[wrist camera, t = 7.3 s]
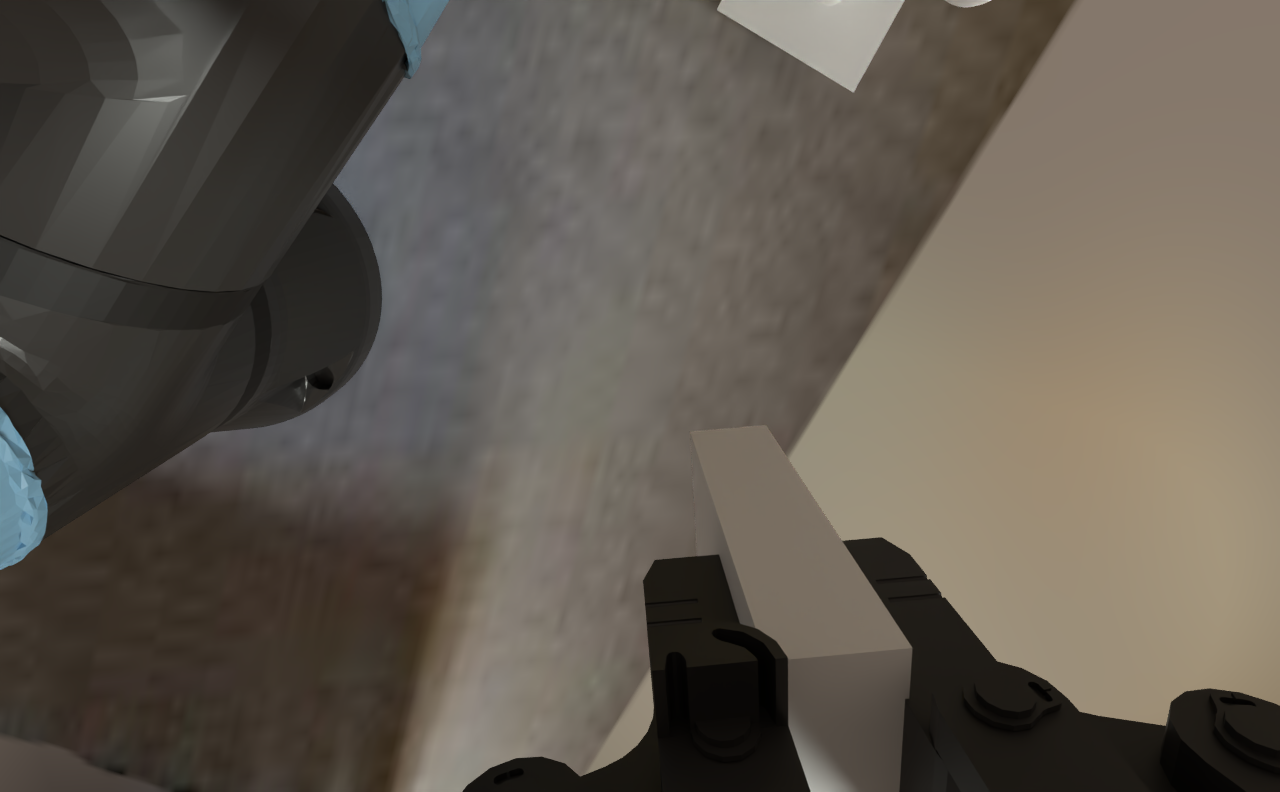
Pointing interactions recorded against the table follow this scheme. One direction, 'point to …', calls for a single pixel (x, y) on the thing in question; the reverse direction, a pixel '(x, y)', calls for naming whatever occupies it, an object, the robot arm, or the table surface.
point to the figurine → (824, 30)
